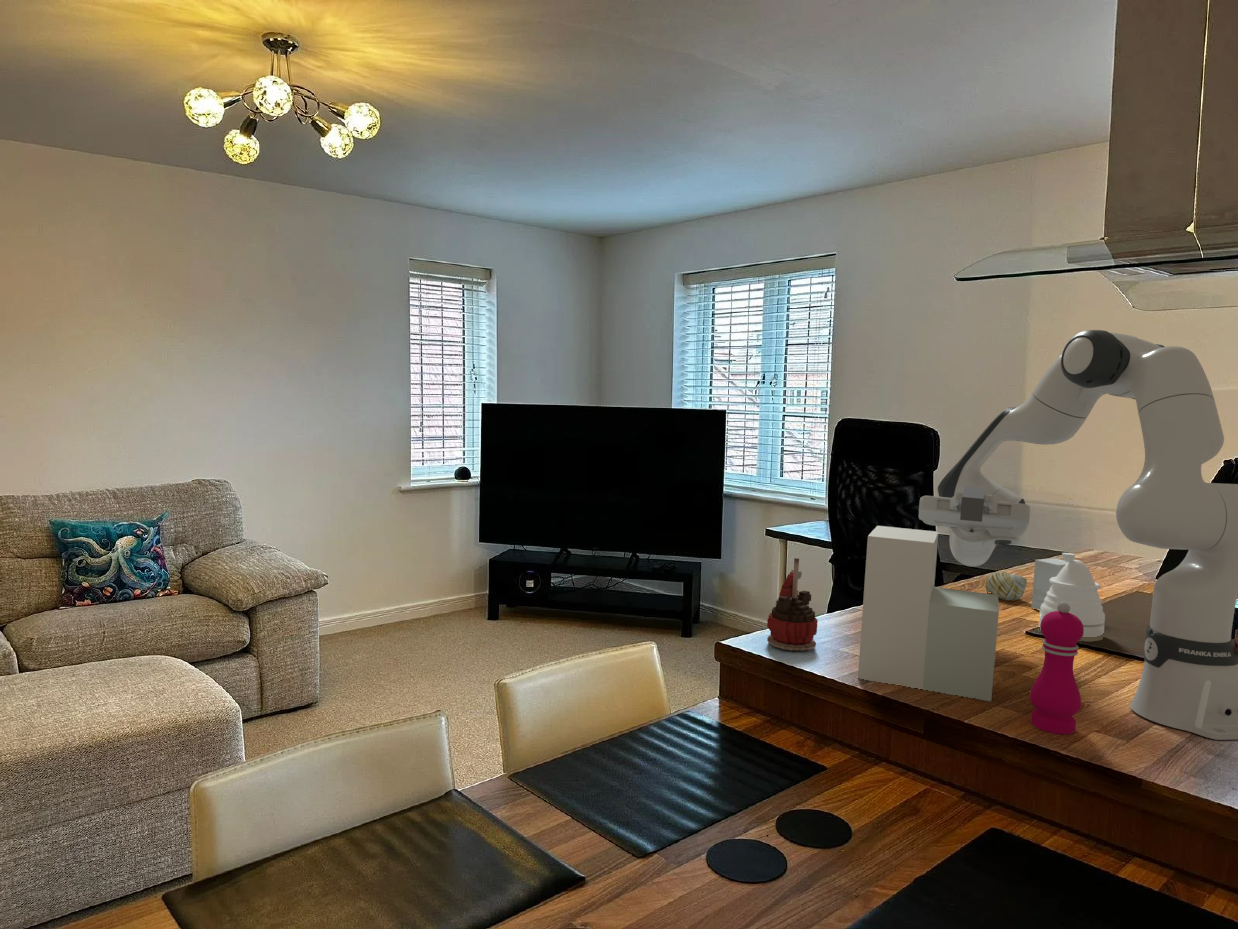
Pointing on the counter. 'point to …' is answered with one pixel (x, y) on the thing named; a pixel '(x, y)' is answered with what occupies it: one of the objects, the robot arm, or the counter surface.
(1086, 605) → the honey pot
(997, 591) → the yarn ball
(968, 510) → the gray rectangular bar
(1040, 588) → the supplement box
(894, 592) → the step stand
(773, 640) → the cake
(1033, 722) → the pepper mill
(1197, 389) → the robot arm
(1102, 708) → the counter surface
